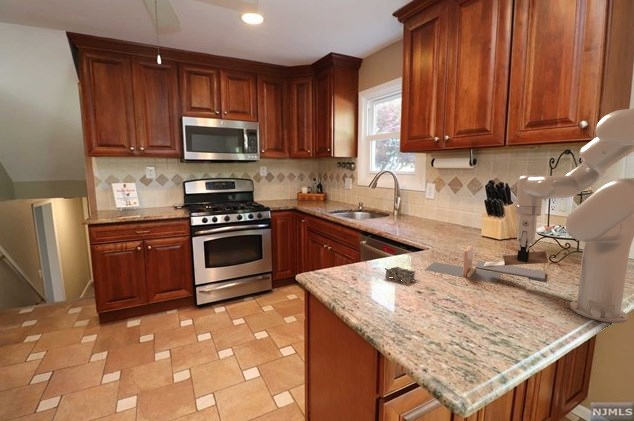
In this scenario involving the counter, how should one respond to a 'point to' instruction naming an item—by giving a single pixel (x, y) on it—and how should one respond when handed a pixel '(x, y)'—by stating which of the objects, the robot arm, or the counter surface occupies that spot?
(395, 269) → the mottled grey block
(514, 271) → the slate board
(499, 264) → the turner
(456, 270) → the tile mat
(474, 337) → the counter surface
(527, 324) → the counter surface
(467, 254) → the tile
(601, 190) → the robot arm
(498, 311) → the counter surface
